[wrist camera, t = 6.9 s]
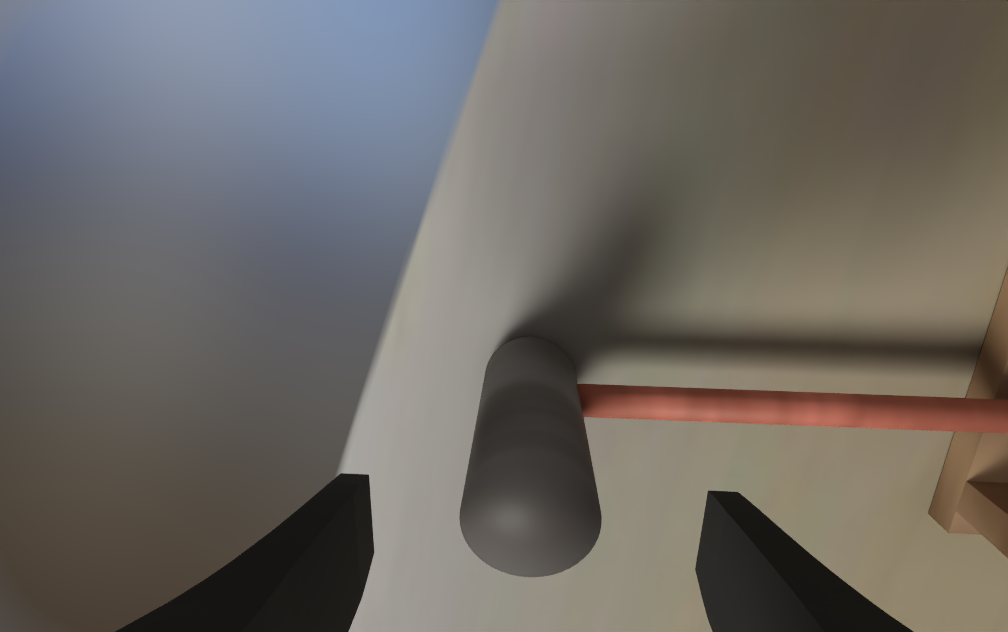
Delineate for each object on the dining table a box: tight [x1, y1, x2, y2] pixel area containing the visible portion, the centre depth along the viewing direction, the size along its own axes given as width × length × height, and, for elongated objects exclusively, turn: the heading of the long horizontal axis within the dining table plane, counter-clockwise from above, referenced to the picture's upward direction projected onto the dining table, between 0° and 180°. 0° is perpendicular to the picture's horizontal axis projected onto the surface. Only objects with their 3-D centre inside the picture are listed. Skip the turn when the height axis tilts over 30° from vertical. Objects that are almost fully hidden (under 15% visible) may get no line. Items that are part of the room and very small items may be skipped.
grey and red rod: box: [460, 337, 1008, 577], centre depth 15 cm, size 5×27×7 cm, turn 89°
